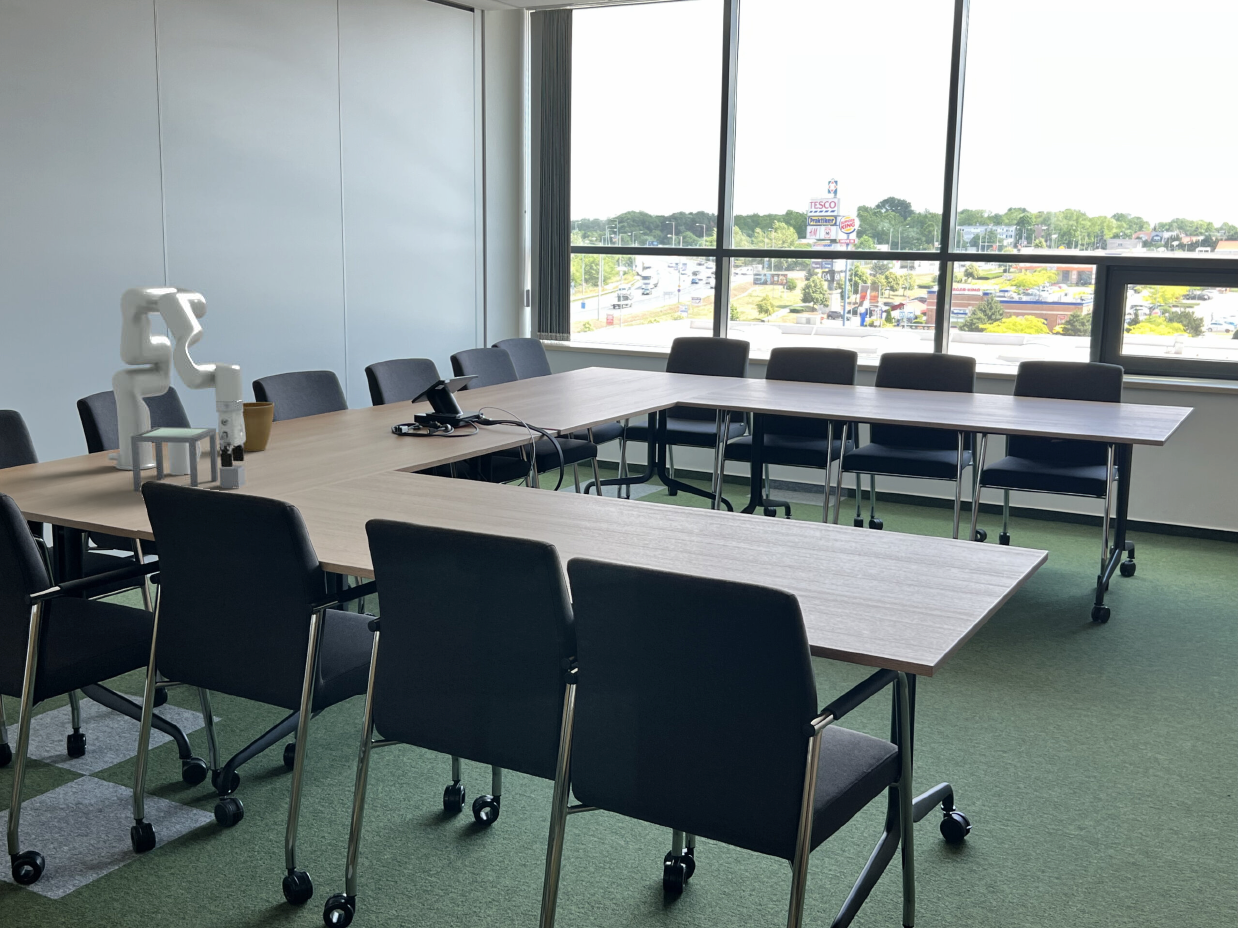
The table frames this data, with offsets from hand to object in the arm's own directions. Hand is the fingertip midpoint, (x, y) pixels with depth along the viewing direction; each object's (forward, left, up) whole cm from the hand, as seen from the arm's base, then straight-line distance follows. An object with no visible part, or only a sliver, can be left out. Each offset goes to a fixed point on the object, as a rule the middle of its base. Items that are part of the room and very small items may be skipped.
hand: (232, 464), depth 339 cm
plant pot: (-14, +61, -7) cm, 63 cm away
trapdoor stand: (-16, -1, -7) cm, 18 cm away
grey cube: (0, 0, -7) cm, 7 cm away
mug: (-21, +18, -7) cm, 29 cm away
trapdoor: (-16, -1, +8) cm, 18 cm away
